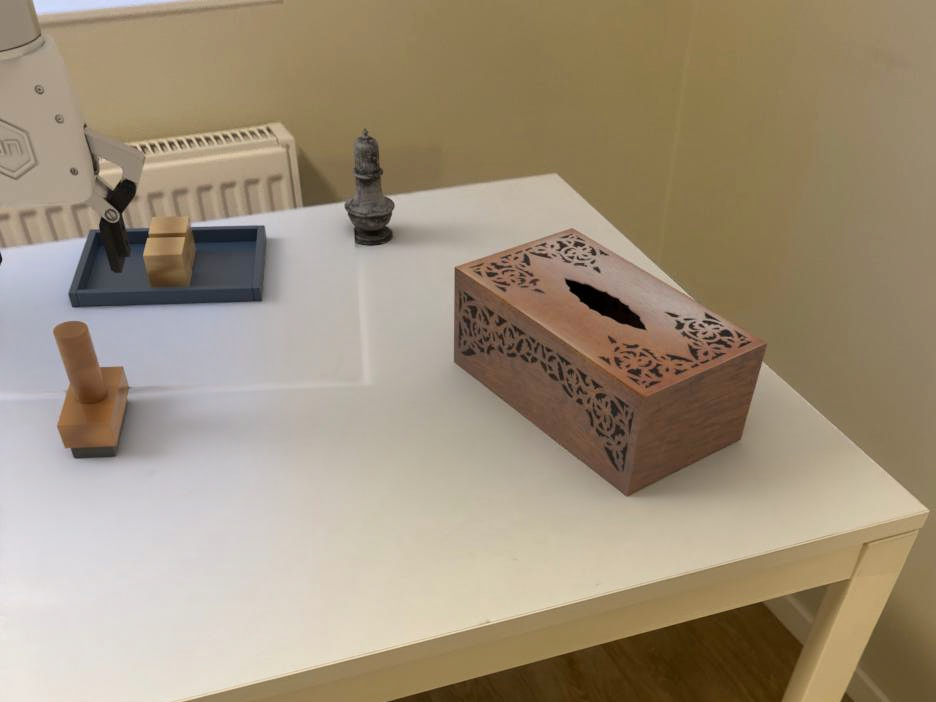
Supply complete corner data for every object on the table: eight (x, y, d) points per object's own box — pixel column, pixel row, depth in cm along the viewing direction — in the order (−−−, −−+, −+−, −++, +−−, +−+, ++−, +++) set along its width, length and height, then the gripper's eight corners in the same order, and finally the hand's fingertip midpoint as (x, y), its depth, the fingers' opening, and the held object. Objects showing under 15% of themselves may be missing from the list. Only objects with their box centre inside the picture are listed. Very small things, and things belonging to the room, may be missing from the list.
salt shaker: (358, 250, 112) (351, 142, 104) (338, 229, 116) (329, 123, 107) (404, 240, 114) (400, 133, 106) (383, 220, 118) (378, 114, 109)
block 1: (156, 268, 107) (148, 233, 104) (160, 251, 109) (152, 216, 106) (193, 267, 107) (186, 232, 104) (196, 250, 110) (189, 215, 107)
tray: (73, 314, 101) (67, 293, 100) (95, 248, 111) (89, 229, 109) (262, 307, 103) (259, 287, 101) (267, 244, 113) (264, 224, 111)
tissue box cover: (740, 439, 90) (767, 343, 82) (626, 496, 84) (644, 397, 76) (563, 320, 103) (572, 228, 96) (453, 361, 97) (454, 266, 90)
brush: (68, 459, 85) (32, 359, 78) (84, 401, 91) (52, 302, 84) (119, 457, 85) (88, 357, 78) (132, 399, 91) (105, 301, 84)
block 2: (151, 291, 103) (142, 255, 100) (155, 273, 106) (147, 237, 103) (189, 290, 104) (181, 254, 101) (192, 272, 106) (185, 236, 103)
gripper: (-179, 41, 61) (-69, 295, 73) (103, 36, 62) (163, 286, 75) (-141, 6, 66) (-44, 249, 78) (119, 2, 67) (172, 241, 80)
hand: (57, 267), depth 77 cm, fingers open, 9 cm apart
